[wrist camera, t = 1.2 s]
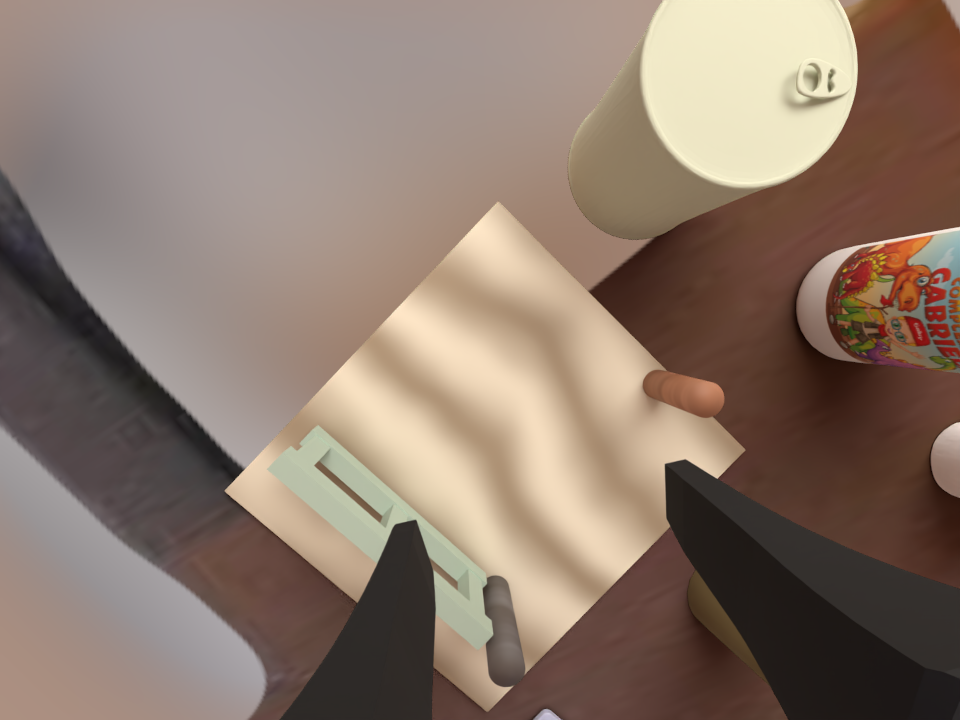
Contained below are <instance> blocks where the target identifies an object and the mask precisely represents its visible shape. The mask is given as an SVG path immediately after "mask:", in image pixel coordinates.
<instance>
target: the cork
mask: <svg viewBox="0 0 960 720" xmlns="http://www.w3.org/2000/svg"><path fill="white" fill-rule="evenodd" d="M687 595H688V604H689V607H690V609H691V611H692V613H693V615H694V616H695V617H696V618H697V619H698V620H699V621H700V622H701V623H702V624H703V625H704V626H705V627H706V628H707V629H708V630H709V631H710V632H712V633H713V634H714V635H715V636H716V637H717V638H718V639H719V640H720V641H721V642H722V643H724V644H725V645H726V646H727V647H728V648H729V649H730V650H731V651H732V652H733V653H734V654H736V655H737V656H738V657H739V658H740V659H741V660H742V661H743V662H744V663H745V664H746V665H748V666H749V667H750V668H751V669H752V670H753V671H754V672H755V673H756V674H757V675H758V676H760V677H761V678H762V679H763V680H764V681H765V682H766V683H767V684H768V685H769V683H768V681H767V679H766V678H765V676H764V674H763V672H762V671H761V669H760V667H759V665H758V664H757V662H756V660H755V658H754V657H753V655H752V653H751V651H750V650H749V648H748V646H747V644H746V643H745V641H744V640H743V638H742V636H741V635H740V633H739V632H738V630H737V629H736V627H735V626H734V624H733V623H732V621H731V620H730V618H729V617H728V615H727V614H726V612H725V611H724V610H723V608H722V607H721V605H720V604H719V602H718V601H717V599H716V598H715V597H714V595H713V594H712V592H711V591H710V589H709V588H708V586H707V585H706V584H705V582H704V581H703V579H702V578H701V576H700V575H699V573H698V572H697V570H695V572H694V574H693V576H692V577H691V579H690V582H689V587H688V591H687ZM769 686H770V685H769Z"/></svg>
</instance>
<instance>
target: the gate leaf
mask: <svg viewBox="0 0 960 720" xmlns="http://www.w3.org/2000/svg"><path fill="white" fill-rule="evenodd" d="M299 444H300V445H301V446H302V447H301V448H300V449H299V450H298V451H296V450H295V449H294V448H293V447H292V446H290V447H289V448H288V449H287V450H285V451H284V452H283V453H282V454H281V455H280V456H279V457H278V458H277V459H276V460H275V461H274V462H273V463H272V464H271V465H270V466H269V467H268V469H267V470H268V471H269V472H270V473H272V474H273V475H274V476H275V477H276V478H277V479H279V480H280V481H281V482H282V483H283V484H284V485H286V486H287V487H288V488H289V489H290V490H291V491H293V492H294V493H295V494H296V495H297V496H298V497H300V498H301V499H302V500H303V501H304V502H305V503H307V504H308V505H309V506H310V507H311V508H312V509H314V510H315V511H316V512H317V513H318V514H319V515H321V516H322V517H323V518H324V519H325V520H326V521H328V522H329V523H330V524H331V525H332V526H333V527H335V528H336V529H337V530H338V531H339V532H340V533H342V534H343V535H344V536H345V537H346V538H347V539H349V540H350V541H351V542H352V543H353V544H354V545H356V546H357V547H358V548H359V549H360V550H361V551H363V552H364V553H365V554H366V555H367V556H368V557H370V558H371V559H372V560H373V561H374V562H375V563H378V561H379V559H380V556H381V554H382V552H383V550H384V547H385V545H386V543H387V540H388V538H389V535H390V533H391V530H392V528H393V527H394V525H395V524H398V523H403V522H407V521H412V520H417V523H418V526H419V529H420V532H421V535H422V538H423V541H424V544H425V547H426V550H427V553H428V556H429V557H430V558H431V559H432V560H433V561H434V562H435V563H436V564H438V565H439V566H440V567H441V568H442V569H443V570H444V571H446V572H447V573H448V574H449V575H450V576H451V577H452V578H454V579H455V580H456V581H457V582H458V591H457V590H456V589H455V588H454V587H453V586H451V585H450V584H449V583H448V582H447V581H446V580H445V579H443V578H442V577H441V576H440V575H439V574H438V573H437V572H435V571H434V570H433V572H434V586H435V602H436V615H437V616H438V617H440V618H441V619H442V620H443V621H444V622H445V623H447V624H448V625H449V626H450V627H451V628H452V629H454V630H455V631H456V632H457V633H458V634H459V635H461V636H462V637H463V638H464V639H465V640H466V641H468V642H469V643H470V644H471V645H472V646H473V647H475V648H476V649H477V650H479V649H480V648H481V647H482V646H483V645H484V644H485V643H486V642H487V641H488V640H489V639H490V638H491V637H492V636H493V628H492V620H491V619H489V618H488V617H487V616H486V615H485V609H484V599H483V589H482V588H483V587H484V586H485V585H486V584H487V579H486V573H485V572H484V571H483V570H482V569H480V568H479V567H478V566H477V565H476V564H475V563H474V562H473V561H471V560H470V559H469V558H468V557H467V556H466V555H465V554H464V553H462V552H461V551H460V550H459V549H458V548H457V547H456V546H454V545H453V544H452V543H451V542H450V541H449V540H448V539H447V538H445V537H444V536H443V535H442V534H441V533H440V532H439V531H438V530H436V529H435V528H434V527H433V526H432V525H431V524H430V523H428V522H427V521H426V520H425V519H424V518H423V517H422V516H421V515H419V514H418V513H417V512H416V511H415V510H414V509H413V508H411V507H410V506H409V505H408V504H407V503H406V502H405V501H404V500H402V499H401V498H400V497H399V496H398V495H397V494H396V493H395V492H393V491H392V490H391V489H390V488H389V487H388V486H387V485H385V484H384V483H383V482H382V481H381V480H380V479H379V478H378V477H376V476H375V475H374V474H373V473H372V472H371V471H370V470H369V469H367V468H366V467H365V466H364V465H363V464H362V463H361V462H359V461H358V460H357V459H356V458H355V457H354V456H353V455H352V454H350V453H349V452H348V451H347V450H346V449H345V448H344V447H342V446H341V445H340V444H339V443H338V442H337V441H336V440H335V439H333V438H332V437H331V436H330V435H329V434H328V433H327V432H326V431H324V430H323V429H322V428H321V427H320V426H319V425H318V426H316V427H315V428H314V429H313V430H312V431H311V432H310V433H309V434H308V435H307V436H306V437H305V438H304V439H303V440H302V441H301V442H300V443H299ZM318 461H320V462H321V463H322V464H323V465H324V466H325V467H327V468H328V469H329V470H330V471H331V472H332V473H333V474H335V475H336V476H337V477H338V478H339V479H340V480H341V481H343V482H344V483H345V484H346V485H347V486H348V487H349V488H351V489H352V490H353V491H354V492H355V493H356V494H357V495H359V496H360V497H361V498H362V499H363V500H364V501H365V502H367V503H368V504H369V505H370V506H371V507H372V508H374V509H375V510H376V511H377V512H378V513H379V514H380V515H382V516H383V517H382V520H381V522H380V523H379V522H378V521H377V520H376V519H375V518H373V517H372V516H371V515H370V514H369V513H368V512H366V511H365V510H364V509H363V508H362V507H361V506H360V505H358V504H357V503H356V502H355V501H354V500H353V499H352V498H350V497H349V496H348V495H347V494H346V493H345V492H344V491H342V490H341V489H340V488H339V487H338V486H337V485H335V484H334V483H333V482H332V481H331V480H330V479H329V478H327V477H326V476H325V475H324V474H323V473H322V472H321V471H319V470H318V469H317V468H316V467H315V466H314V465H315V464H316V463H317V462H318Z"/></svg>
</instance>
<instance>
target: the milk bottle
mask: <svg viewBox="0 0 960 720" xmlns="http://www.w3.org/2000/svg"><path fill="white" fill-rule="evenodd" d="M796 314H797V321H798V324H799V326H800V330H801V332H802V333H803V335H804V337H805V338H806V340H807V341H808V342H809V343H810V344H811V345H812V346H813V347H814V348H816V349H817V350H818V351H820V352H821V353H823V354H824V355H826V356H828V357H831V358H834V359H838V360H844V361H851V362H859V363H869V364H878V365H887V366H897V367H906V368H916V369H925V370H935V371H945V372H955V373H960V227H958V228H952V229H946V230H941V231H935V232H930V233H924V234H919V235H913V236H908V237H902V238H897V239H891V240H886V241H881V242H875V243H870V244H864V245H859V246H854V247H850V248H845V249H842V250H838V251H836V252H834V253H832V254H830V255H828V256H826V257H825V258H823V259H822V260H821V261H820V262H818V263H817V264H816V265H815V266H814V267H813V268H812V269H811V270H810V271H809V272H808V274H807V276H806V277H805V278H804V280H803V282H802V284H801V287H800V289H799V292H798V297H797V300H796Z"/></svg>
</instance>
